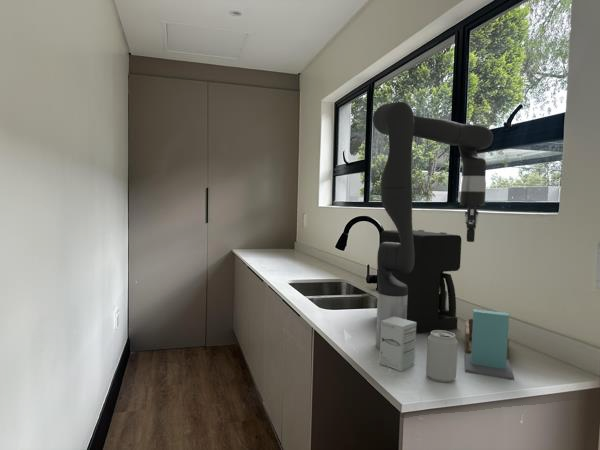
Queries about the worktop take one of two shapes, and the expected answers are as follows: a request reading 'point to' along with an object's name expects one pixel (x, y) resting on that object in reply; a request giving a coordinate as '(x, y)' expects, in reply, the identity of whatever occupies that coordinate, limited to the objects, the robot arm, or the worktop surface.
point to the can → (441, 356)
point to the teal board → (489, 338)
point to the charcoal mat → (488, 369)
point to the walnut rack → (469, 337)
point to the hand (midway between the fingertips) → (470, 240)
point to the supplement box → (397, 343)
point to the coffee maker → (430, 279)
